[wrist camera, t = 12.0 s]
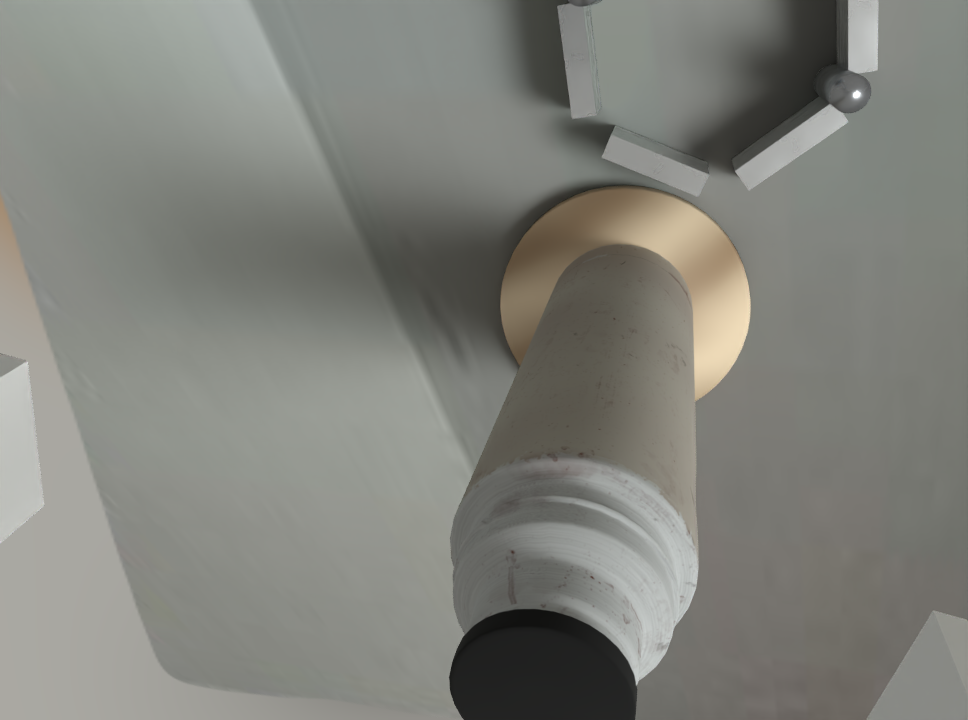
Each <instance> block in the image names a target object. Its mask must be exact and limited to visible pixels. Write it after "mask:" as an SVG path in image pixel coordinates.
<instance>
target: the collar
mask: <svg viewBox="0 0 968 720" xmlns="http://www.w3.org/2000/svg"><path fill="white" fill-rule="evenodd" d="M568 1H569V2H570V3H569V4H564V5H559V6H557V9H558V16H559V24H560V31H561V39H562V46H563V54H564V61H565V69H566V76H567V84H568V91H569V99H570V106H571V114H572V119H576V118H582V117H588V116H594V115H597V113H598V112H599V110H600V109H601V107H602V105H601V97H600V88H599V80H598V71H597V63H596V54H595V46H594V38H593V29H592V21H591V12H590V5H592V4H597V3H599V2H601V1H602V0H568ZM836 24H837V64H831V65H827V66H825V67H824V68H822V69H821V70H820V71H819V72H818V73H817V75H816V77H815V80H814V88H815V91H816V93H817V94H818V95H819V97H818V98H816V99H815V100H813V101H812V102H811V103H809V104H808V105H806V106H805V107H804V108H802V109H801V110H799V111H798V112H797V113H795V114H794V115H792V116H791V117H790V118H788V119H787V120H785V121H784V122H783V123H781V124H780V125H778V126H777V127H776V128H774V129H773V130H771V131H770V132H769V133H767V134H766V135H764V136H763V137H762V138H760V139H759V140H757V141H756V142H755V143H753V144H752V145H750V146H749V147H748V148H746V149H745V150H743V151H742V152H741V153H739V154H738V155H736V156H735V157H734V158H732V159H731V160H732V163H733V166H734V170H735V172H736V173H737V175H738V176H739V178H740V179H741V180H742V182H743V183H744V184H745V186H746V187H747V189H748V190H750V189H752V188H753V187H755V186H756V185H758V184H759V183H761V182H762V181H764V180H765V179H766V178H768V177H769V176H771V175H772V174H774V173H775V172H777V171H778V170H780V169H781V168H782V167H784V166H785V165H787V164H788V163H790V162H791V161H793V160H794V159H795V158H797V157H798V156H800V155H801V154H803V153H804V152H806V151H807V150H809V149H810V148H811V147H813V146H814V145H816V144H817V143H819V142H820V141H822V140H823V139H825V138H826V137H827V136H829V135H830V134H832V133H833V132H835V131H836V130H838V129H839V128H841V127H842V126H843V125H845V124H846V123H848V121H847V119H846V118H845V116H844V115H843V113H853V112H856V111H859V110H860V109H862V108H863V107H864V106H865V105H866V104H867V102H868V101H869V99H870V96H871V86H870V83H869V82H868V80H867V79H866V78H864V77H863V76H861V75H859V74H858V73H864V72H871V71H877V70H878V0H836ZM842 112H843V113H842ZM602 158H604V159H606V160H609V161H611V162H614V163H616V164H618V165H621V166H623V167H626V168H628V169H631V170H633V171H636V172H638V173H641V174H643V175H645V176H648V177H650V178H653V179H655V180H658V181H660V182H663V183H665V184H668V185H670V186H672V187H675V188H677V189H680V190H682V191H685V192H687V193H690V194H692V195H695V196H697V197H699V195H700V192H701V190H702V188H703V186H704V184H705V182H706V180H707V178H708V176H709V169H708V163H707V162H705V161H703V160H700V159H698V158H695V157H693V156H690V155H688V154H685V153H683V152H680V151H678V150H675V149H673V148H670V147H668V146H665V145H663V144H661V143H658V142H656V141H653V140H651V139H648V138H646V137H643V136H641V135H638V134H636V133H633V132H631V131H628V130H626V129H623V128H621V127H619V126H616V125H615V127H614V130H613V132H612V134H611V136H610V139H609V141H608V143H607V146H606V148H605V151H604V153H603V155H602Z"/></svg>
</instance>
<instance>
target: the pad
mask: <svg viewBox="0 0 968 720" xmlns="http://www.w3.org/2000/svg"><path fill="white" fill-rule="evenodd" d="M614 244H626V245H634V246H639V247H643V248H646V249H648V250H651V251H653V252H655V253H657V254H659V255H660V256H662V257H663V258H665V259H666V260H668V261H669V262H670V263H671V264H672V265H673V266H674V267H675V268H676V269H677V270H678V271H679V272H680V274H681V275H682V277H683V279H684V280H685V282H686V284H687V286H688V289H689V292H690V295H691V299H692V307H693V333H694V380H695V401H697V400H698V399H700V398H701V397H703V396H704V395H706V394H707V393H708V392H709V391H710V390H711V389H713V388H714V387H715V386H716V385H717V384H718V383H719V382H720V381H721V380H722V379H723V377H724V376H725V375H726V374H727V373H728V371H729V370H730V368H731V367H732V365H733V364H734V363H735V361H736V359H737V357H738V355H739V353H740V351H741V349H742V347H743V344H744V341H745V338H746V335H747V332H748V326H749V320H750V294H749V286H748V281H747V277H746V274H745V270H744V266H743V263H742V261H741V259H740V257H739V254H738V252H737V250H736V248H735V246H734V245H733V243H732V242H731V240H730V239H729V237H728V235H727V234H726V233H725V232H724V231H723V230H722V228H721V227H720V226H719V225H718V224H717V223H716V222H715V221H714V220H713V219H712V218H711V217H710V216H708V215H707V214H706V213H705V212H704V211H702V210H701V209H699V208H698V207H696V206H695V205H693V204H692V203H690V202H688V201H686V200H684V199H682V198H680V197H678V196H676V195H673V194H670V193H667V192H664V191H661V190H658V189H653V188H648V187H642V186H627V185H622V186H608V187H603V188H598V189H593V190H589V191H586V192H583V193H580V194H577V195H575V196H573V197H571V198H569V199H567V200H564V201H562V202H560V203H559V204H558V205H556V206H555V207H553V208H552V209H550V210H549V211H547V212H546V213H545V214H544V215H543V216H541V217H540V218H539V219H538V220H537V221H536V222H535V223H534V224H533V225H532V226H531V228H530V229H529V230H528V231H527V232H526V233H525V235H524V236H523V238H522V239H521V241H520V242H519V244H518V246H517V247H516V249H515V250H514V252H513V254H512V256H511V259H510V261H509V263H508V265H507V268H506V271H505V275H504V278H503V283H502V289H501V302H500V310H501V319H502V325H503V329H504V333H505V337H506V339H507V342H508V344H509V347H510V349H511V351H512V353H513V355H514V357H515V359H516V360H517V362H518V364H519V365H521V363H522V361H523V358H524V356H525V354H526V352H527V349H528V347H529V345H530V342H531V340H532V338H533V335H534V333H535V331H536V328H537V326H538V324H539V322H540V319H541V317H542V315H543V312H544V310H545V308H546V305H547V303H548V301H549V299H550V296H551V294H552V292H553V289H554V287H555V285H556V283H557V281H558V278H559V277H560V276H561V274H562V273H563V271H564V270H565V269H566V267H567V266H568V265H570V264H571V263H572V262H573V261H574V260H575V259H576V258H578V257H579V256H581V255H583V254H584V253H586V252H588V251H590V250H593V249H596V248H599V247H601V246H607V245H614Z"/></svg>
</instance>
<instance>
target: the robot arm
mask: <svg viewBox="0 0 968 720" xmlns="http://www.w3.org/2000/svg"><path fill="white" fill-rule="evenodd" d="M28 369H29V368H28V361H26V360H23V359H19V358H15V357H12V356H8V355H5V354H1V353H0V543H1V542H2V541H4V540H5V539H6V538H7V537H8V536H9V535H11V534H12V533H13V532H14V531H15V530H16V529H18V528H19V527H20V526H21V525H22V524H24V523H25V522H26V521H27V520H28V519H29V518H31V517H32V516H33V515H34V514H35V513H36V512H38V511H39V510H40V509H41V508H42V507H43V506H44V499H43V490H42V482H41V473H40V464H39V456H38V447H37V438H36V430H35V421H34V412H33V403H32V394H31V386H30V378H29V370H28ZM866 720H968V620H966V619H962V618H958V617H955V616H951V615H947V614H944V613H940V612H937V611H933V612H932V613H931V615H930V617H929V618H928V620H927V622H926V623H925V625H924V626H923V628H922V630H921V631H920V633H919V635H918V636H917V638H916V639H915V641H914V643H913V644H912V646H911V648H910V649H909V651H908V652H907V654H906V656H905V657H904V659H903V661H902V662H901V664H900V666H899V667H898V669H897V670H896V672H895V674H894V675H893V677H892V679H891V680H890V682H889V683H888V685H887V687H886V688H885V690H884V692H883V693H882V695H881V696H880V698H879V700H878V701H877V703H876V705H875V706H874V708H873V710H872V711H871V713H870V714H869V716H868V718H867V719H866Z"/></svg>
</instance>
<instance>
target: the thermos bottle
mask: <svg viewBox="0 0 968 720" xmlns="http://www.w3.org/2000/svg"><path fill="white" fill-rule="evenodd" d="M450 543H451V559H452V562H453V566H454V570H453V601H454V609H455V612H456V615H457V619H458V622H459V624H460V626H461V628H462V630H463V632H464V634H465V635H464V637H463V638H462V640H461V642H460V644H459V646H458V648H457V651H456V653H455V656H454V659H453V662H452V666H451V671H450V676H449V679H450V692H451V695H452V698H453V701H454V704H455V706H456V708H457V709H458V711H459V713H460V715H461V717H462V718H463V719H464V720H635V715H636V701H637V683H638V680H640V679H642V678H643V677H644V676H646V675H647V674H648V673H649V672H650V671H651V670H653V669H654V668H655V667H656V666H657V665H658V663H659V662H660V660H661V659H662V658H663V656H664V655H665V653H666V651H667V649H668V646H669V643H670V641H671V638H672V634H673V630H674V627H675V625H676V624H677V623H678V622H679V621H680V619H681V618H682V616H683V615H684V613H685V612H686V611H687V609H688V608H689V605H690V603H691V600H692V597H693V595H694V592H695V590H696V585H697V575H698V532H697V519H696V426H695V380H694V333H693V307H692V299H691V295H690V292H689V289H688V286H687V284H686V282H685V280H684V279H683V277H682V275H681V274H680V272H679V271H678V270H677V269H676V268H675V267H674V266H673V265H672V264H671V263H670V262H669V261H668V260H666V259H665V258H663V257H662V256H660V255H659V254H657V253H655V252H653V251H651V250H648V249H646V248H643V247H639V246H634V245H626V244H614V245H607V246H601V247H599V248H596V249H593V250H590V251H588V252H586V253H584V254H583V255H581V256H579V257H578V258H576V259H575V260H574V261H573V262H572V263H571V264H570V265H568V266H567V267H566V269H565V270H564V271H563V273H562V274H561V276H560V277H559V278H558V281H557V283H556V285H555V287H554V289H553V292H552V294H551V296H550V299H549V301H548V303H547V305H546V308H545V310H544V312H543V315H542V317H541V319H540V322H539V324H538V326H537V328H536V331H535V333H534V335H533V338H532V340H531V342H530V345H529V347H528V349H527V352H526V354H525V356H524V358H523V361H522V363H521V365H520V368H519V370H518V372H517V374H516V377H515V379H514V381H513V384H512V386H511V388H510V390H509V393H508V395H507V397H506V400H505V402H504V404H503V407H502V409H501V411H500V413H499V416H498V418H497V420H496V423H495V425H494V427H493V430H492V432H491V434H490V436H489V439H488V441H487V443H486V446H485V448H484V450H483V452H482V455H481V457H480V459H479V462H478V464H477V466H476V469H475V471H474V473H473V475H472V478H471V480H470V482H469V485H468V487H467V489H466V492H465V494H464V496H463V498H462V501H461V503H460V505H459V508H458V510H457V512H456V515H455V517H454V521H453V526H452V531H451V537H450Z"/></svg>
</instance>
